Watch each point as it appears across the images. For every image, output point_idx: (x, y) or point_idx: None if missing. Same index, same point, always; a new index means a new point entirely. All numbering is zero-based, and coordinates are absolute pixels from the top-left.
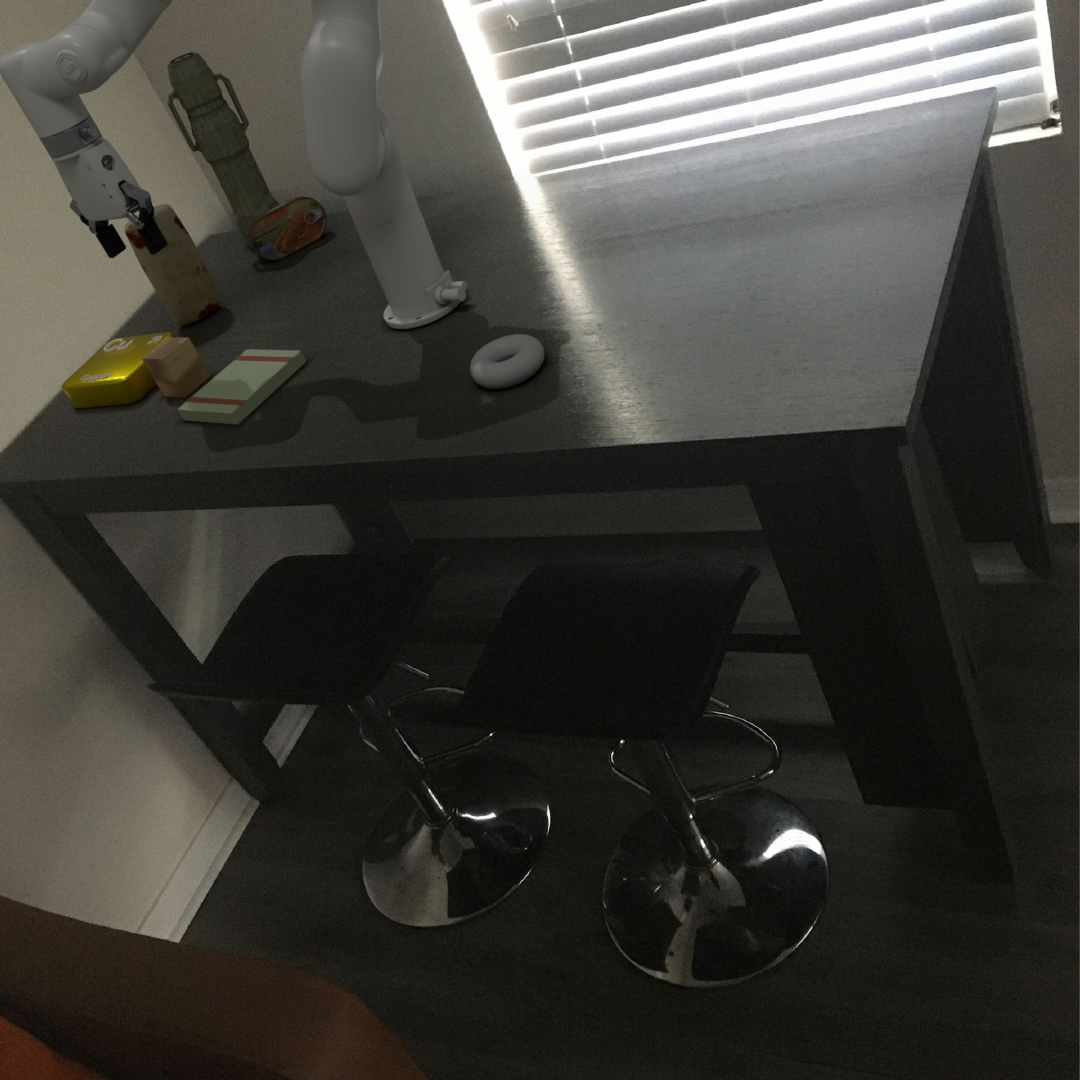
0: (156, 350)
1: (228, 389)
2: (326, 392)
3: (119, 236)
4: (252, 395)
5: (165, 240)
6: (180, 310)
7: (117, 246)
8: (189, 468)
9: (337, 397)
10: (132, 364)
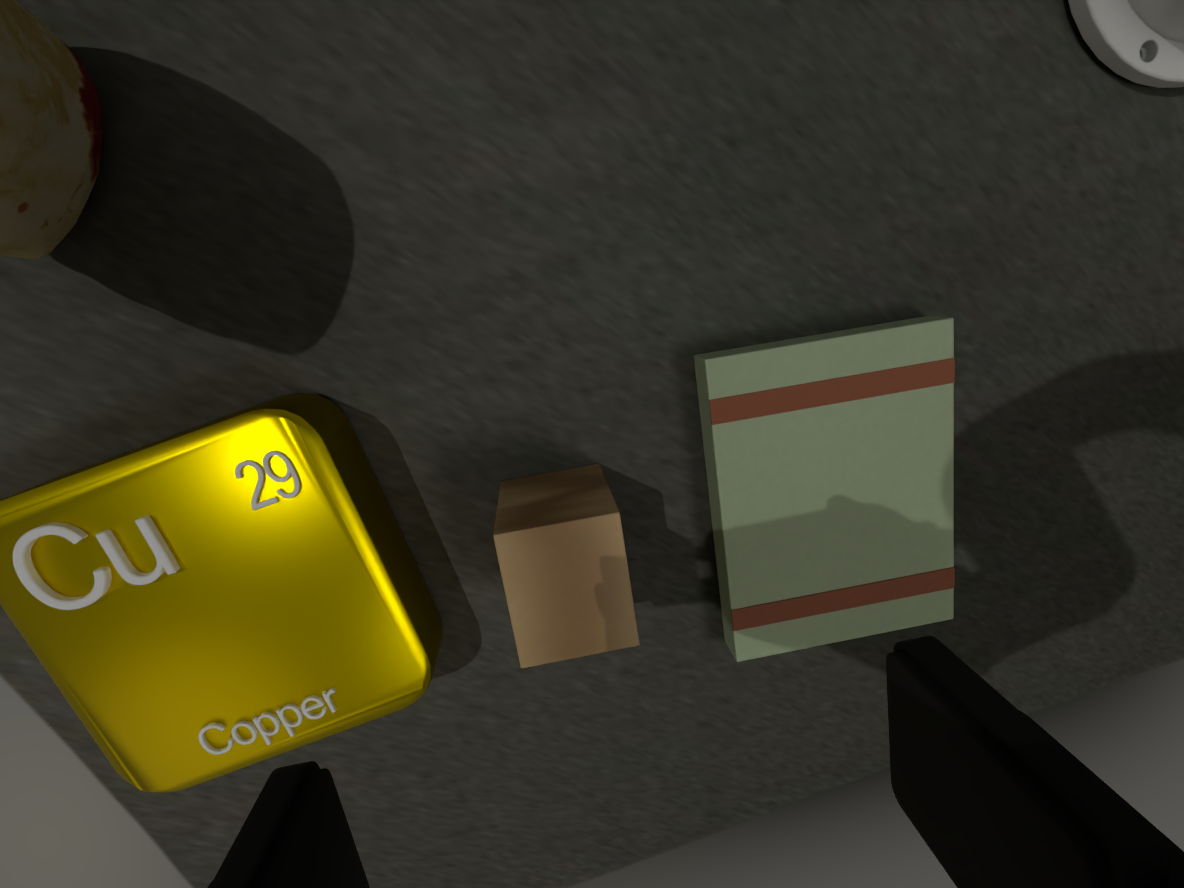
0: (539, 615)
1: (841, 546)
2: (1107, 422)
3: (274, 880)
4: (952, 540)
5: (950, 657)
6: (37, 225)
7: (326, 878)
8: None
9: (1157, 430)
10: (358, 622)
